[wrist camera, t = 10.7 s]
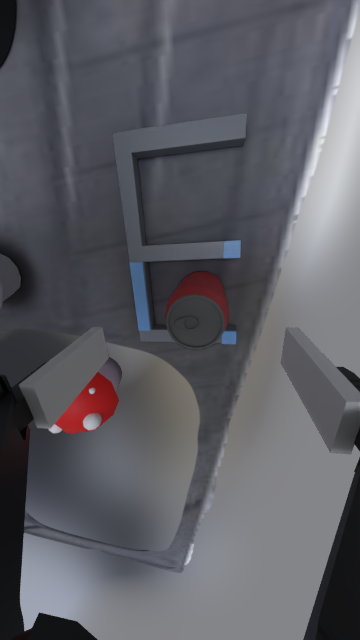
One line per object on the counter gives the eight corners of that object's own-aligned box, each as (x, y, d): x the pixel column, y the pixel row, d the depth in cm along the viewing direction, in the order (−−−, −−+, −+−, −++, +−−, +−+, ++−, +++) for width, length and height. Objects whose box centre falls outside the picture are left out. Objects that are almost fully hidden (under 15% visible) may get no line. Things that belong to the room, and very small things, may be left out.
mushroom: (72, 379, 40) (19, 432, 29) (84, 333, 36) (26, 375, 25) (122, 401, 40) (89, 462, 29) (140, 358, 36) (108, 411, 25)
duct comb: (119, 140, 25) (110, 131, 23) (243, 123, 23) (247, 110, 20) (144, 335, 34) (139, 342, 32) (234, 336, 32) (236, 344, 30)
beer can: (177, 270, 29) (157, 289, 18) (224, 269, 28) (233, 288, 17) (179, 314, 32) (162, 353, 21) (223, 314, 31) (229, 356, 20)
